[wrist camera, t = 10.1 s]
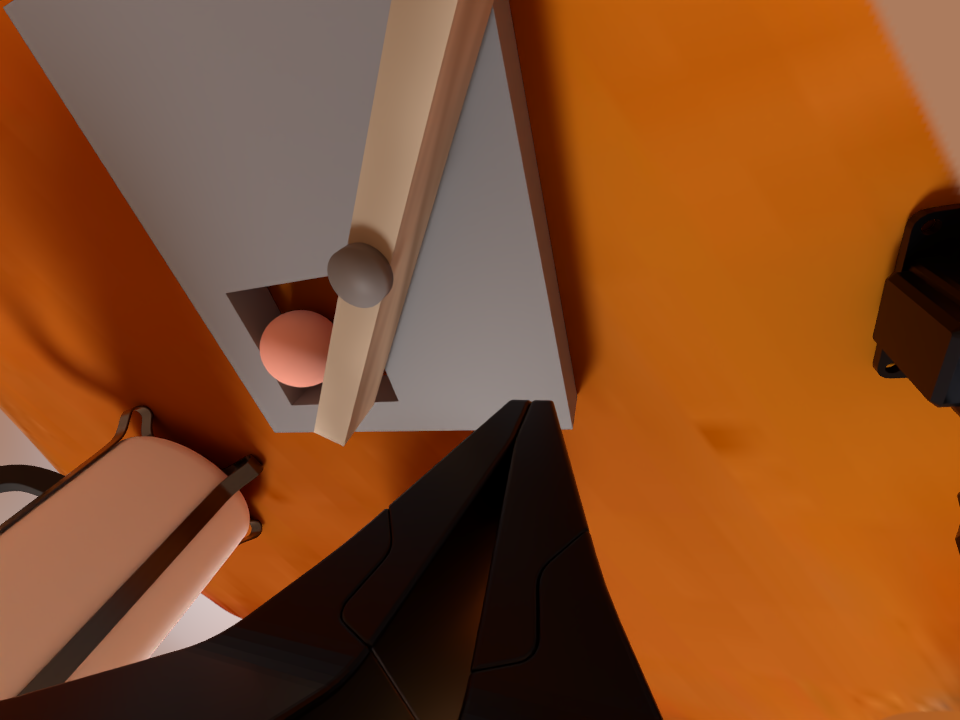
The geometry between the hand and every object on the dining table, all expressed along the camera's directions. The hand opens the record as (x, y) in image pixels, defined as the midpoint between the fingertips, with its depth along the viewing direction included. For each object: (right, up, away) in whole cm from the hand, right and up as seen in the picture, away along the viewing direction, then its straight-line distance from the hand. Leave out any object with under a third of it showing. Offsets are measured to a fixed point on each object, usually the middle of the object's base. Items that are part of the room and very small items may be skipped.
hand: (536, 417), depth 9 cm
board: (-7, +7, +12) cm, 16 cm away
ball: (-10, +2, +14) cm, 18 cm away
